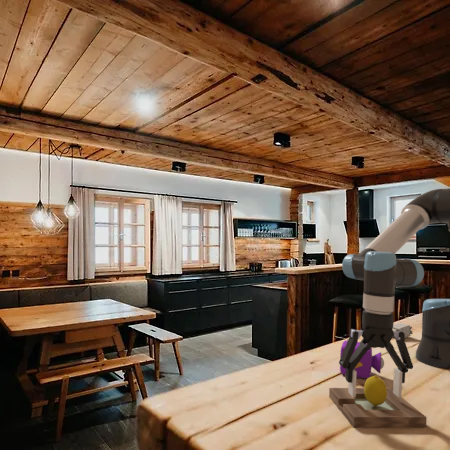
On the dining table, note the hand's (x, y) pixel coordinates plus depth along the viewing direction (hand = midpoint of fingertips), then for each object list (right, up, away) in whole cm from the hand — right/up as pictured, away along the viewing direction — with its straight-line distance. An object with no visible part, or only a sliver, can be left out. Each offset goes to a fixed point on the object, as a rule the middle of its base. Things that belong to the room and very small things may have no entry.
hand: (374, 394), depth 96 cm
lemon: (0, -3, 0) cm, 3 cm away
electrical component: (+34, -7, +70) cm, 78 cm away
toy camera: (+6, -5, +26) cm, 27 cm away
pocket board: (0, -4, 0) cm, 4 cm away
